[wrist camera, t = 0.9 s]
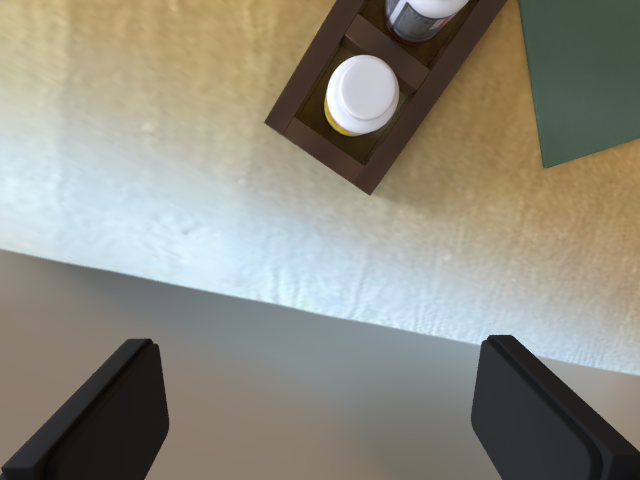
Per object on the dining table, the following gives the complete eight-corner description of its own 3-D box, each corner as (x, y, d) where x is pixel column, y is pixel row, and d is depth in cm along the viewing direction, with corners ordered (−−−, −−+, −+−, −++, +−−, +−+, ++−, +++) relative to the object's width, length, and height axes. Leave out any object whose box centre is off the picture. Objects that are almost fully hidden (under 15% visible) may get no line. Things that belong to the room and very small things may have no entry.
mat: (510, -48, 30) (513, -51, 29) (645, -97, 29) (649, -101, 29) (543, 168, 35) (546, 168, 34) (659, 130, 34) (663, 130, 34)
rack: (267, 125, 33) (263, 122, 30) (401, -98, 29) (411, -126, 26) (365, 192, 35) (370, 195, 32) (504, -8, 31) (524, -24, 28)
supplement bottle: (320, 80, 32) (324, 48, 22) (377, 74, 32) (407, 39, 22) (326, 140, 34) (332, 134, 24) (381, 134, 34) (409, 126, 24)
